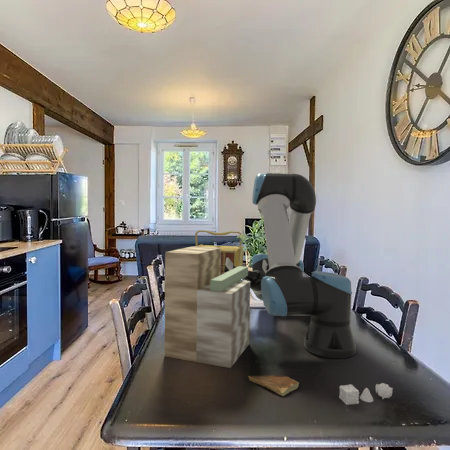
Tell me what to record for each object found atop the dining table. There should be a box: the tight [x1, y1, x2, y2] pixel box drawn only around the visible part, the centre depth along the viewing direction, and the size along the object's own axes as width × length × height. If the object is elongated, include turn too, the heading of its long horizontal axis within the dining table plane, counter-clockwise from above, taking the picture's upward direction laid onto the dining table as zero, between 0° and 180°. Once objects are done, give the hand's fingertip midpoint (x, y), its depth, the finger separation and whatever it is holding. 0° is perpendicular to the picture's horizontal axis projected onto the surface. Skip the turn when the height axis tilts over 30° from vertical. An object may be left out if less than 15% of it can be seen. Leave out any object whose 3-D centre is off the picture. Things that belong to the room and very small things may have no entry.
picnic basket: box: [194, 229, 245, 275], centre depth 207 cm, size 29×26×30 cm
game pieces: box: [338, 382, 394, 406], centre depth 78 cm, size 12×3×3 cm, turn 102°
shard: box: [247, 374, 300, 397], centre depth 85 cm, size 11×8×2 cm
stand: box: [164, 245, 251, 369], centre depth 103 cm, size 18×20×30 cm
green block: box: [210, 265, 249, 292], centre depth 106 cm, size 26×3×3 cm, turn 160°
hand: (244, 262), depth 120 cm, fingers open, 13 cm apart
